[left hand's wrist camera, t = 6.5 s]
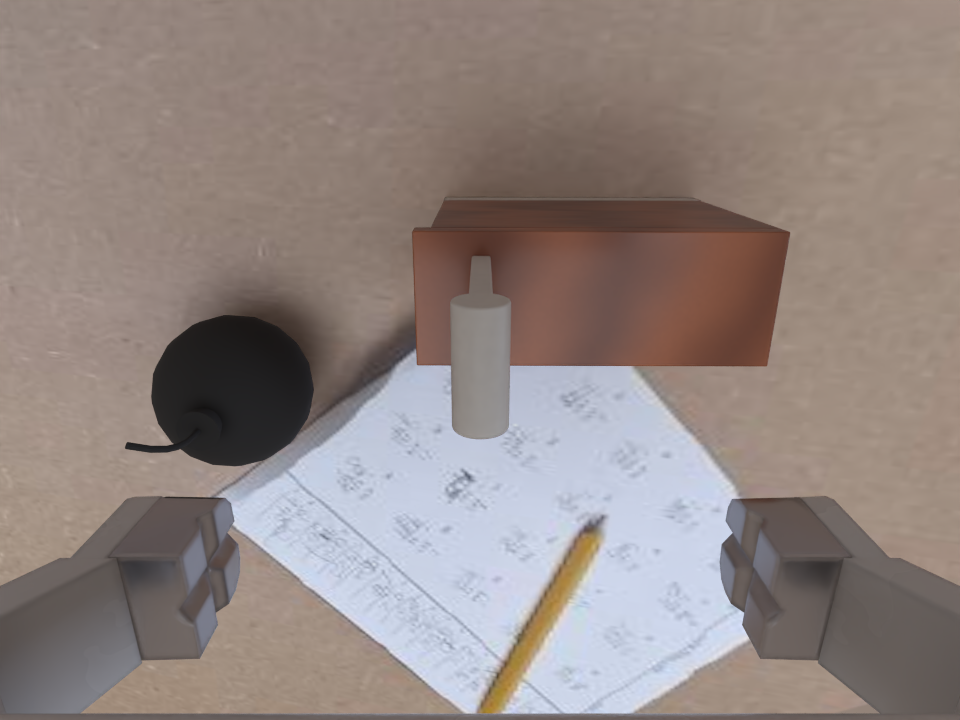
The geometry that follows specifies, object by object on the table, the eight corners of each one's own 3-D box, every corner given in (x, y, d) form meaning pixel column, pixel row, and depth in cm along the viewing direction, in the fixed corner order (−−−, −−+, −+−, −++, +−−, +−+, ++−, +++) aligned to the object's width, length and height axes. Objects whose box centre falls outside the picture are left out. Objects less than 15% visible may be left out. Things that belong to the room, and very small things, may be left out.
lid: (419, 358, 26) (390, 463, 18) (414, 227, 24) (380, 279, 16) (758, 359, 26) (883, 465, 18) (780, 228, 24) (932, 280, 16)
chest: (446, 293, 36) (433, 357, 26) (444, 197, 34) (430, 226, 24) (681, 294, 36) (758, 358, 26) (693, 197, 34) (780, 227, 24)
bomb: (352, 346, 36) (295, 445, 25) (287, 446, 39) (208, 577, 28) (231, 271, 35) (112, 340, 24) (170, 380, 37) (35, 490, 26)
